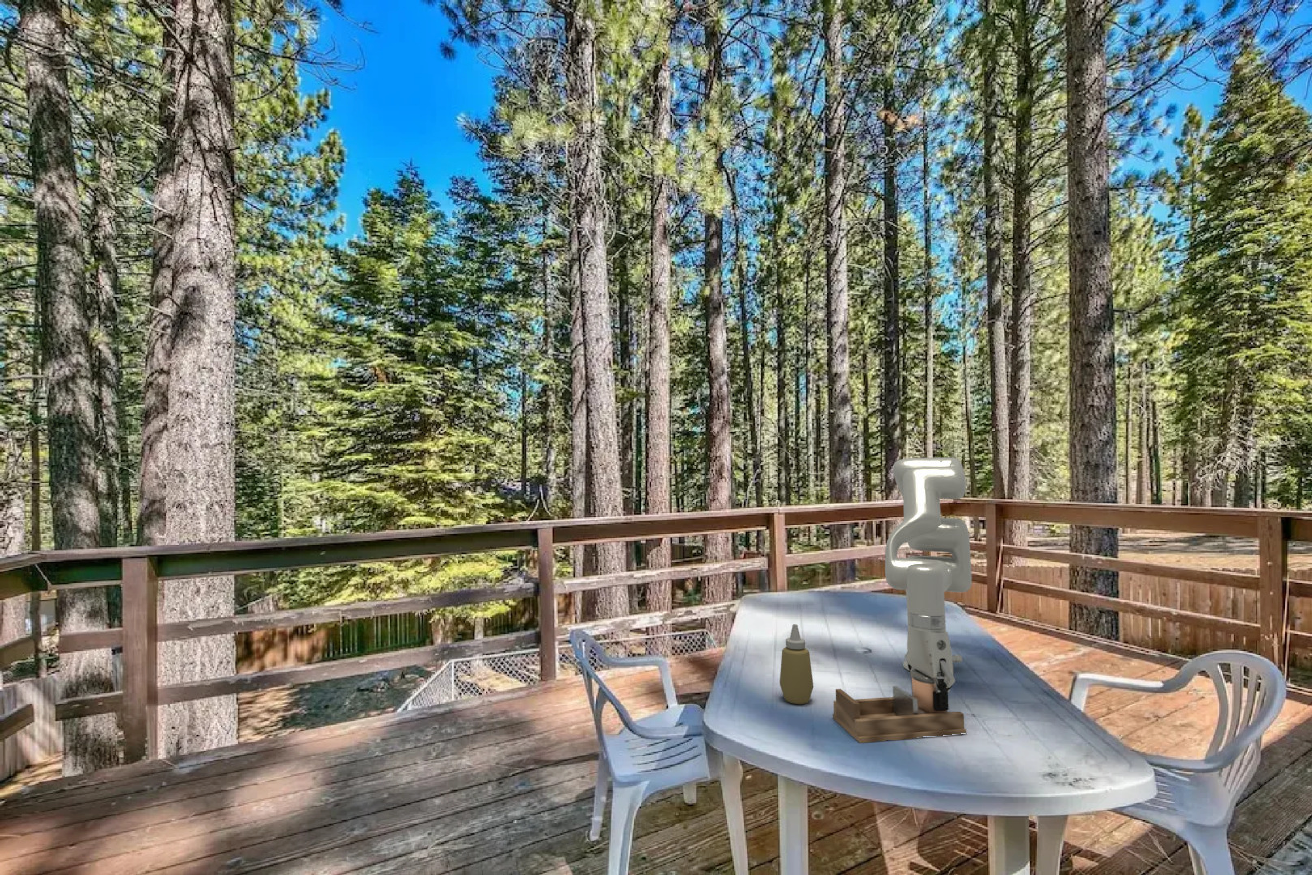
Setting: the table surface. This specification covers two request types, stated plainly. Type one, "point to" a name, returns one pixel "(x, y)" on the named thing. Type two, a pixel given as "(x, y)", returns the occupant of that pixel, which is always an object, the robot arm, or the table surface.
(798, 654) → the squeeze bottle
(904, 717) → the wooden tray
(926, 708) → the jar
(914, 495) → the robot arm
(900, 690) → the plate
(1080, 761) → the table surface
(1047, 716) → the table surface
